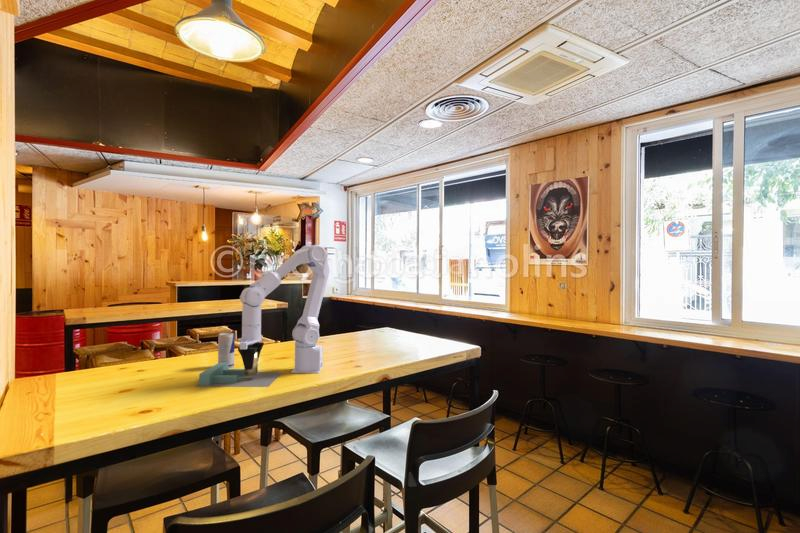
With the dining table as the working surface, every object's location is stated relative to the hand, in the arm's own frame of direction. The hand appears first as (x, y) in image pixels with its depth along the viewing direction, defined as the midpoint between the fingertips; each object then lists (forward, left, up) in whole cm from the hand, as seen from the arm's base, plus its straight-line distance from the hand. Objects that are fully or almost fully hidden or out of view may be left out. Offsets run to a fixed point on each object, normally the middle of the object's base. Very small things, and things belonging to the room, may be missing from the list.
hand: (251, 367), depth 124 cm
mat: (+3, 0, -4) cm, 5 cm away
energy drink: (+14, -15, -4) cm, 21 cm away
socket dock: (+7, 0, -4) cm, 8 cm away
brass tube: (0, 0, -2) cm, 2 cm away
